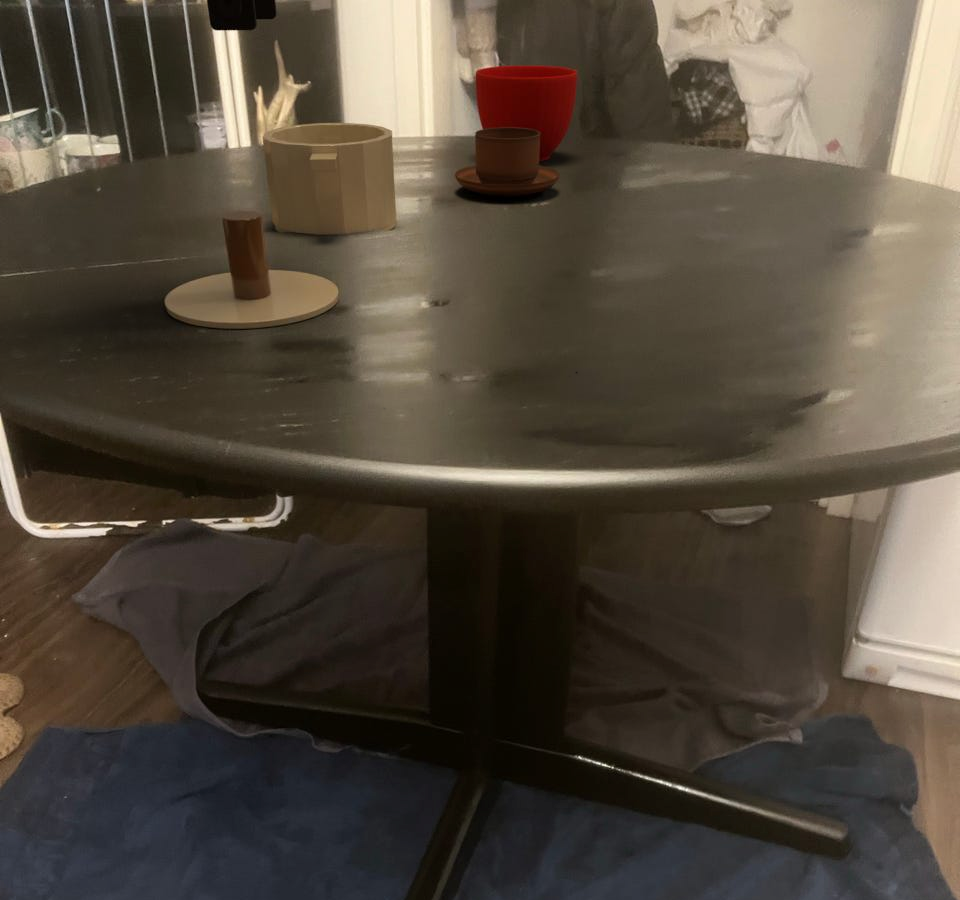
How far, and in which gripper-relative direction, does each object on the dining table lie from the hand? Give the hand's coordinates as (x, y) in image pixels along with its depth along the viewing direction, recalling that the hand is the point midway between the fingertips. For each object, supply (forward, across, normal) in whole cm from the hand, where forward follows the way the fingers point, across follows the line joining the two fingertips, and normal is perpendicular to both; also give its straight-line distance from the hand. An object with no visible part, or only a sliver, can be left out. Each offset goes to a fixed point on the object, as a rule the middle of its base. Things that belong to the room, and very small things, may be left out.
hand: (245, 24), depth 73 cm
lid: (+18, +6, -1) cm, 20 cm away
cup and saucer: (+19, -35, +22) cm, 46 cm away
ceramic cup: (+19, -58, +25) cm, 66 cm away
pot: (+19, -21, +3) cm, 28 cm away
